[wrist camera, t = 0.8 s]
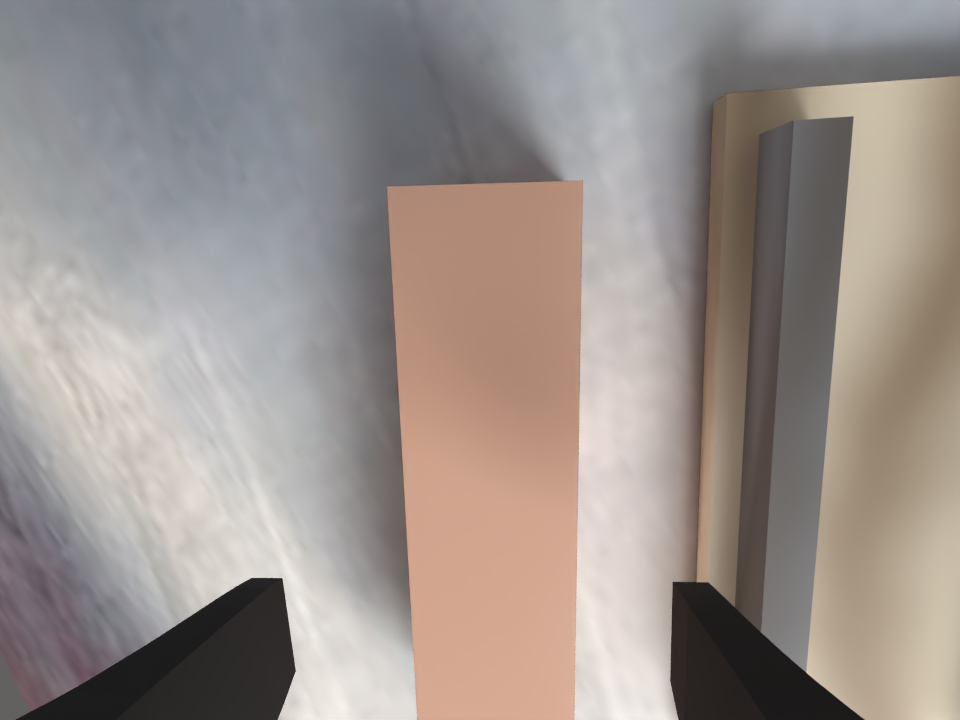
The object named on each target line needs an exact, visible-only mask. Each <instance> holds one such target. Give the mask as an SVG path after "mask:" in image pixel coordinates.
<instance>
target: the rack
mask: <svg viewBox="0 0 960 720" xmlns="http://www.w3.org/2000/svg"><path fill="white" fill-rule="evenodd" d="M696 582H709V583H710V584H711V585H712V586H713V587H714V588H715V589H716V590H717V591H718V592H719V593H720V594H721V595H723V596H724V597H725V598H726V599H727V600H728V601H729V602H730V603H731V604H732V605H733V606H734V607H735V608H736V609H737V610H738V611H739V612H740V613H741V614H742V615H743V616H744V617H745V618H746V619H747V620H749V621H750V622H751V623H752V624H753V625H754V626H755V627H756V628H757V629H758V630H759V631H760V632H761V633H762V634H763V635H764V636H766V637H767V638H768V639H769V640H770V641H771V642H772V643H773V644H774V645H775V646H777V647H778V648H779V649H780V650H781V651H782V652H783V653H784V654H785V655H787V656H788V657H789V658H790V659H791V660H792V661H793V662H795V663H796V664H797V665H798V666H799V667H800V668H801V669H803V670H804V671H805V672H806V673H807V674H809V675H810V676H811V677H812V678H813V679H814V680H816V681H817V682H818V683H819V684H820V685H822V686H823V687H824V688H825V689H827V690H828V691H829V692H830V693H832V694H833V695H834V696H835V697H837V698H838V699H839V700H840V701H842V702H843V703H844V704H845V705H847V706H848V707H849V708H850V709H851V710H853V711H854V712H855V713H857V714H858V715H859V716H861V717H862V718H863V719H865V720H960V76H951V77H938V78H924V79H911V80H897V81H883V82H870V83H856V84H843V85H829V86H816V87H802V88H788V89H775V90H761V91H748V92H734V93H727V94H725V95H724V96H722V97H721V98H719V99H718V100H716V101H715V102H714V103H713V119H712V148H711V177H710V205H709V234H708V262H707V291H706V320H705V348H704V377H703V406H702V434H701V463H700V491H699V520H698V549H697V577H696Z"/></svg>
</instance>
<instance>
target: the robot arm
mask: <svg viewBox="0 0 960 720" xmlns="http://www.w3.org/2000/svg"><path fill="white" fill-rule="evenodd" d="M295 671H296V670H295V663H294V656H293V649H292V642H291V635H290V628H289V621H288V614H287V607H286V600H285V593H284V587H283V580H282V578H251V579H249V580H247V581H246V582H244V583H242V584H240V585H238V586H237V587H235V588H233V589H232V590H230V591H229V592H227V593H225V594H224V595H222V596H221V597H219V598H218V599H216V600H215V601H213V602H212V603H210V604H208V605H207V606H205V607H204V608H202V609H201V610H199V611H198V612H196V613H195V614H193V615H192V616H190V617H189V618H187V619H186V620H184V621H183V622H181V623H179V624H178V625H176V626H175V627H173V628H172V629H170V630H169V631H167V632H166V633H164V634H163V635H161V636H160V637H158V638H156V639H155V640H153V641H152V642H150V643H149V644H147V645H146V646H144V647H142V648H141V649H139V650H137V651H136V652H134V653H132V654H131V655H129V656H127V657H126V658H124V659H123V660H121V661H119V662H118V663H116V664H114V665H113V666H111V667H109V668H108V669H106V670H104V671H103V672H101V673H100V674H98V675H96V676H95V677H93V678H91V679H90V680H88V681H86V682H85V683H83V684H81V685H79V686H78V687H76V688H74V689H72V690H70V691H69V692H67V693H65V694H63V695H61V696H60V697H58V698H56V699H54V700H52V701H51V702H49V703H47V704H45V705H43V706H41V707H39V708H37V709H35V710H33V711H31V712H29V713H28V714H26V715H24V716H22V717H20V718H18V719H16V720H278V717H279V715H280V712H281V709H282V707H283V704H284V702H285V699H286V696H287V694H288V691H289V688H290V685H291V682H292V680H293V677H294V674H295ZM670 681H671V686H672V691H673V696H674V700H675V705H676V710H677V714H678V719H679V720H865V719H863V718H862V717H861V716H859V715H858V714H857V713H855V712H854V711H853V710H851V709H850V708H849V707H848V706H847V705H845V704H844V703H843V702H842V701H840V700H839V699H838V698H837V697H835V696H834V695H833V694H832V693H830V692H829V691H828V690H827V689H825V688H824V687H823V686H822V685H820V684H819V683H818V682H817V681H816V680H814V679H813V678H812V677H811V676H810V675H809V674H807V673H806V672H805V671H804V670H803V669H801V668H800V667H799V666H798V665H797V664H796V663H795V662H793V661H792V660H791V659H790V658H789V657H788V656H787V655H785V654H784V653H783V652H782V651H781V650H780V649H779V648H778V647H777V646H775V645H774V644H773V643H772V642H771V641H770V640H769V639H768V638H767V637H766V636H764V635H763V634H762V633H761V632H760V631H759V630H758V629H757V628H756V627H755V626H754V625H753V624H752V623H751V622H750V621H749V620H747V619H746V618H745V617H744V616H743V615H742V614H741V613H740V612H739V611H738V610H737V609H736V608H735V607H734V606H733V605H732V604H731V603H730V602H729V601H728V600H727V599H726V598H725V597H724V596H723V595H721V594H720V593H719V592H718V591H717V590H716V589H715V588H714V587H713V586H712V585H711V584H710V583H709V582H673V598H672V637H671V677H670Z"/></svg>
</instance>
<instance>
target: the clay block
mask: <svg viewBox="0 0 960 720" xmlns="http://www.w3.org/2000/svg"><path fill="white" fill-rule="evenodd" d="M387 197H388V214H389V232H390V250H391V267H392V285H393V302H394V320H395V337H396V355H397V373H398V390H399V408H400V425H401V443H402V460H403V478H404V495H405V513H406V531H407V548H408V566H409V583H410V601H411V618H412V636H413V654H414V671H415V689H416V706H417V720H574V704H575V641H576V579H577V517H578V455H579V393H580V330H581V268H582V206H583V181H550V182H517V183H485V184H452V185H419V186H387Z"/></svg>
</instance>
